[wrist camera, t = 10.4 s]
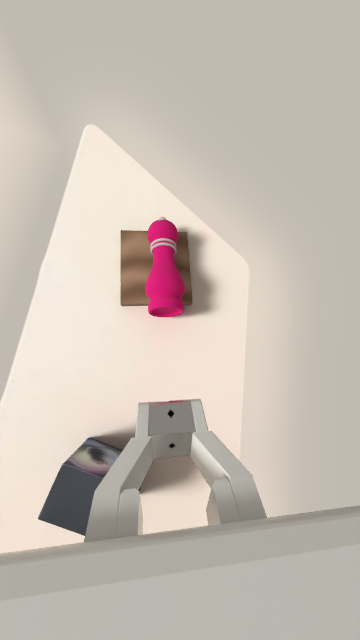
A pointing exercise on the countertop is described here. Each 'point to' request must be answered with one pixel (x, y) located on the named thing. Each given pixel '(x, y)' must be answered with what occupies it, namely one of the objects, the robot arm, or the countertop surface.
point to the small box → (78, 486)
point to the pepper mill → (164, 271)
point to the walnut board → (148, 267)
